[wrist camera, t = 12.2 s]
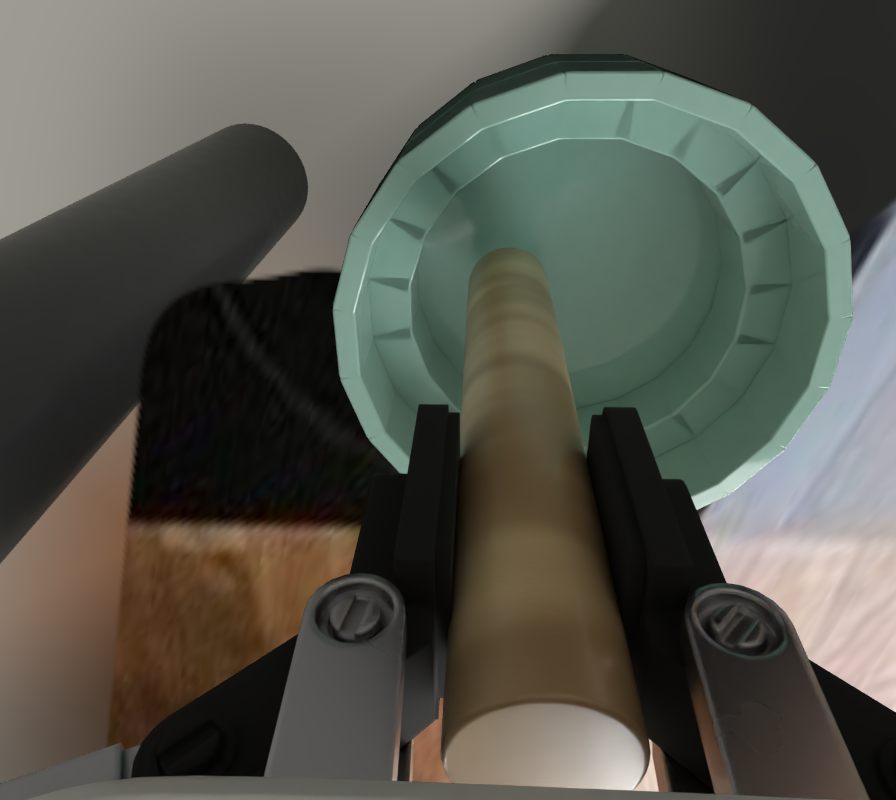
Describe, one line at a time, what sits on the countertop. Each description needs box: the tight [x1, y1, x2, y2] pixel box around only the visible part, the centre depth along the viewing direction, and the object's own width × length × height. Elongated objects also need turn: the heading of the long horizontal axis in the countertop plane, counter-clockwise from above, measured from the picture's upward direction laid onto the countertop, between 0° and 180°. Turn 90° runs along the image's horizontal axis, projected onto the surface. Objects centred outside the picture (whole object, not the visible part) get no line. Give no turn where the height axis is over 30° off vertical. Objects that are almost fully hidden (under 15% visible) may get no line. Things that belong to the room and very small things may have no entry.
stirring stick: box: [441, 248, 651, 791], centre depth 14 cm, size 2×2×15 cm
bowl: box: [333, 54, 853, 510], centre depth 20 cm, size 13×13×6 cm
